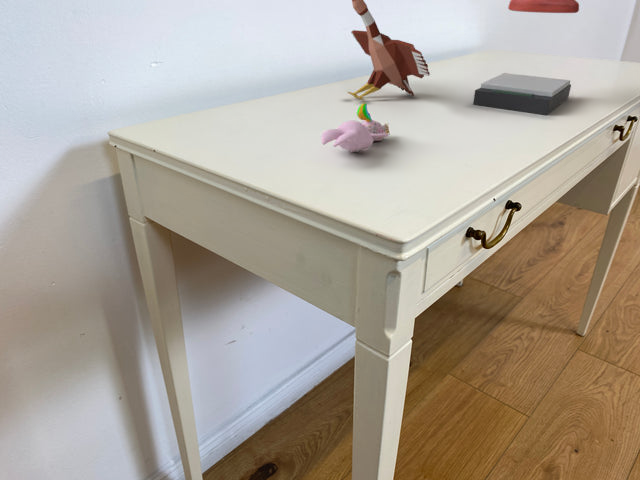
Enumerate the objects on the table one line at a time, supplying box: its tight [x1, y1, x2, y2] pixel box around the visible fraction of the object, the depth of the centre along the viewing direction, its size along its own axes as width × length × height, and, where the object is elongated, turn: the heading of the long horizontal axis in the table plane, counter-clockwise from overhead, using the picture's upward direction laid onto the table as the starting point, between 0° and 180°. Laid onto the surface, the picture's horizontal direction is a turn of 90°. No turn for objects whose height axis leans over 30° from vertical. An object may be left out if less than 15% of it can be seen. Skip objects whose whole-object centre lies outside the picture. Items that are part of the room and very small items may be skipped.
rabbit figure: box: [320, 102, 391, 153], centre depth 63 cm, size 6×6×15 cm
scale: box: [472, 72, 572, 116], centre depth 86 cm, size 14×12×3 cm
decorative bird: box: [346, 0, 431, 101], centre depth 86 cm, size 28×18×15 cm, turn 18°
